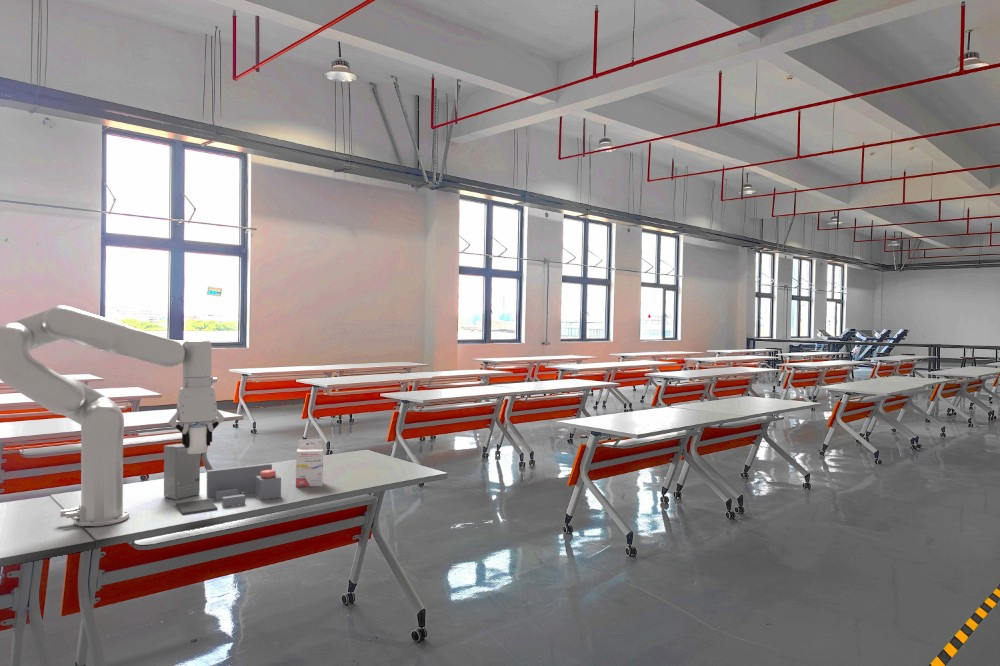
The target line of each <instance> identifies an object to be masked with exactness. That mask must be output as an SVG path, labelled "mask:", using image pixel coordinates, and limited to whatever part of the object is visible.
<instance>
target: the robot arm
mask: <svg viewBox="0 0 1000 666" xmlns="http://www.w3.org/2000/svg"><path fill="white" fill-rule="evenodd" d="M59 340H63V341H67V342H71V343H75V344H78V345H82V346H86V347H89V348H92V349H96V350H99V351H103V352H107V353H111V354H113V355H121V356H125V357H129V358H133V359H136V360H141V361H142V362H143V361H144V362H146V363H150V364H153V365H158V366H160V367H164V368H175V367H177V366H179V365H180V364H181V365H182V387H180V388H178V393H177V402H176V412H175V413H174V415H172V417H170V419H169V421H168V424H169V425H171V426H172V427H174V428H175V429H176V430H177V431H179V432H180V433H181V444H182V445H184V447H185V448H188V447H189V434H188V427H189V424H194V423H205V424H206V426H207V447H209V446H211V443H212V442H213V432H214V430H215V429H216V428H217V427H218V426H219V425H220V424H221V423H222V422H223V421H225V419H226V417H224V416H223V414H222V413H221V412H220V411H219V410H218V407H217V404H218V403H217V397H216V391H215V387H214V386H213V384H215V383H218V382H217V381H218V378H217V377H213V376H212V373H213V372H212V371H213V369H212V368H213V367H212V363H213V362H212V352H213V351H212V349H213V348H212V343H211V341H210V340H207V339H188V340H178V339H177V340H176V339H170V338H168V337H163V336H160V335H157V334H154V333H151V332H147V331H144V330H141V329H138V328H135V327H133V326H130V325H128V324H126V323H124V322H121V321H117V320H114V319H112V318H108V317H104V316H100V315H98V314H94V313H91V312H88V311H85V310H81V309H78V308H76V307H72V306H68V305H64V304H63V305H54V306H51V307H50V308H49V309H46V310H44V311H41V312H38V313H36V314H32V315H29V316H27V317H24V318H21V319H17V320H15V321H11V322H7V323H4V324H3V323H2V324H0V381H1V382H3V383H4V384H5V385H7V386H8V387H10V388H12V389H14V390H15V391H16V392H18V393H20V394H21V395H23V396H25V397H26V398H28V399H30V400H32V401H33V402H35V403H37V404H38V405H40V406H41V407H44V408H45V409H46V410H47V411H49V412H50V413H53V414H55V415H59V416H60V415H61V416H64V417H66V418H68V419H69V420H71V421H73V422H75V423H76V424H78V425H80V435H81V436H80V437H81V438H80V440H81V443H80V445H81V446H80V449H81V451H80V455H81V456H80V465H81V468H80V471H81V474H80V476H81V477H80V478H81V479H80V482H81V483H80V484H81V487H80V489H81V490H80V495H81V496H80V499H81V500H80V503H78V506H74V508H70V509H69V508H65V509H60V512H59V514H60V515H59V517H60V518H65V519H68V518H69V519H70V518H74V520H73V524H74V525H75V526H78V527H84V526H94V527H103V526H108V525H115V524H118V523H121V522H123V521H125V520H128V518H130V512H129V510H126V509H123V508H124V505H123V504H124V501H123V500H124V477H123V476H124V465H123V464H124V435H125V434H124V433H125V432H124V431H125V418H124V413H123V412H122V409H121V408H120V406H119V405H118V404H117V403H116V402H115V401H114V400H112V399H111V398H108V397H107V396H105V395H103V394H102V393H100V392H98V391H97V390H95V389H93V388H92V387H90V386H89V385H86V384H85V383H83V382H81V381H80V380H78V379H76V378H74V377H71V376H64V375H62V374H60V373H58V372H57V371H55V370H53V369H52V368H50V367H49V366H47V365H45V364H44V363H43V362H40V361H38V360H37V359H35V358H34V357H33V356H32V355H31V354H30V351H33V350H36V349H38V348H41V347H44V346H46V345H49V344H51V343H54V342H58V341H59ZM177 421H178V422H179V423H181V424H182V425H181V424H179V423H177Z"/></svg>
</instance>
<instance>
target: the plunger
mask: <svg viewBox="0 0 1000 666" xmlns="http://www.w3.org/2000/svg"><path fill="white" fill-rule="evenodd" d="M276 472H277V471H276V470H274V469H272V470H264V471H261V478H263V479H267V478H273V477H275V476H276V475H277V473H276Z"/></svg>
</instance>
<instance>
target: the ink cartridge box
mask: <svg viewBox="0 0 1000 666" xmlns="http://www.w3.org/2000/svg"><path fill="white" fill-rule="evenodd" d="M309 443H312V444H309ZM323 443H324V440H323V439H321V438H316V439H307V438H306V439H297V449H296V458H295V459H296V461H295V463H296V464H295V465H296V466H295V468H296V469H295V471H296V472H295V487H296V488H298V487H299V488H301V487H302V486H306V487H323V483H324V482H323V481H324V448H323V447H324V444H323Z"/></svg>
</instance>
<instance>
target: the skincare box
mask: <svg viewBox="0 0 1000 666" xmlns="http://www.w3.org/2000/svg"><path fill="white" fill-rule="evenodd" d="M163 451H164V453H163V454H164V455H163V497H165V498H169V499H172V500H175V501H177V500H181V499H182V500H183V499H186V498H190V497H193V496H197V495H198V496H199V495H200V494H201V492H200V487H201V486H200V483H201V482H200V481H201V480H200V479H201V478H200V476H201V475H200V473H201V472H200V471H201V468H200V467H201V462H200V461H201V454H188V448H185V447H184V445H182V443H176V444H175V443H173V444H166V445H164V446H163Z"/></svg>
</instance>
